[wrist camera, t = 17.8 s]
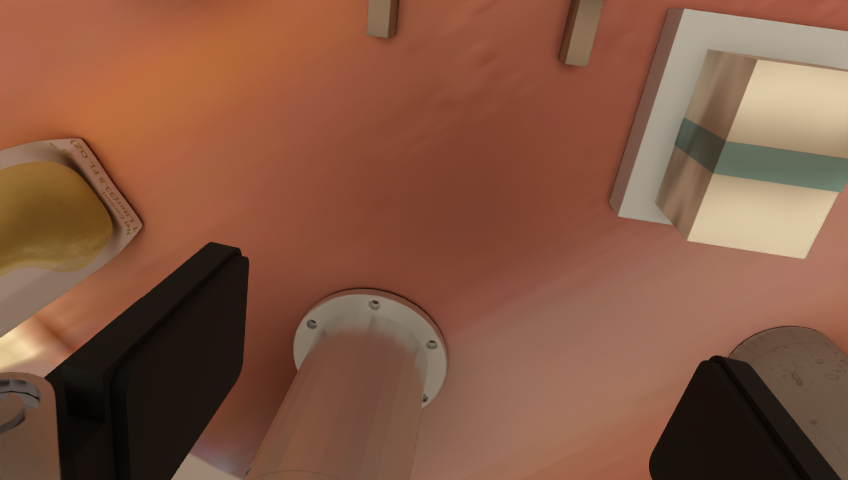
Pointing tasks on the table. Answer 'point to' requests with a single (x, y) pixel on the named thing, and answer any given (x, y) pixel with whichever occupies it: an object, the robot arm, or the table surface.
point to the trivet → (676, 82)
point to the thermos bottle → (806, 385)
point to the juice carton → (55, 224)
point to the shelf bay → (574, 40)
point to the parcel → (758, 154)
